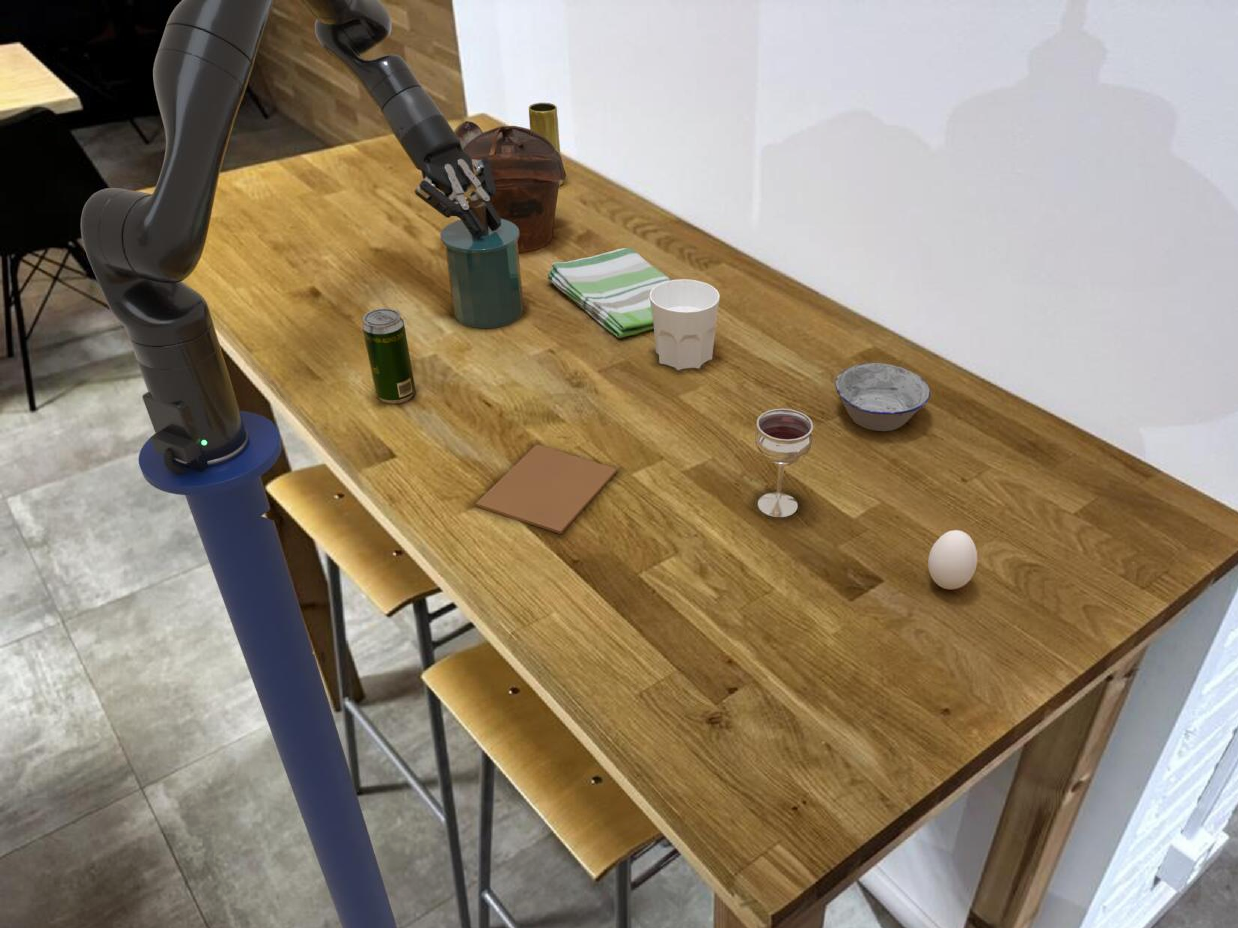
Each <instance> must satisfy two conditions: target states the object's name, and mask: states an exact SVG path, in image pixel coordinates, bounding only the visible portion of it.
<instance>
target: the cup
mask: <svg viewBox="0 0 1238 928" xmlns="http://www.w3.org/2000/svg"><path fill="white" fill-rule="evenodd" d="M670 280H671V281H666V282H663V283H661V284H658V285H657V286H655V287H654V288H653V289H652V290H651V291H650V304H651V311H652V319H653V324H654V329H653V334H654V346H655V347H654V348H655V353H656V354H657V355H658V359H659V360H658V361H659V364H661V365H666V366H669V367H671V368H674V369H675V370H677V371H680V370H683V369H685V370H686V369H701V367H702V365H704V364H705V363H706V362H708V361H712V360H713V354H714V345H715V338H716V337H715V335H716V327H717V320H718V319H717V318H718V312H719V306H720V305H719V304H720V298H721V297H720V296H721V295H720V293H719V290H718V289H717V288H715V286H713V285H711V284H709V283H706V282H704V281H701V280H694V279H683V278H681V279H670Z"/></svg>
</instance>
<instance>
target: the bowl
mask: <svg viewBox="0 0 1238 928" xmlns="http://www.w3.org/2000/svg"><path fill="white" fill-rule="evenodd" d="M834 388H835V389H836V393H837V395H838V396H839V399H840V400H841V402H842V403H843V406H844V408H845V410H846V412H847V414H848V415H849V417H850V420H852V421H853V422H854V423H855V424H856V425H858V426H860V427H861V428H864V429H866V430H867V429H868V430H871V431H875V432H889V431H894V430H897V429H900V428H901V427H903V426H904V425H905V424H907V422H908V421H909V420H911V418H912V417H913V416H914V415H915V414H916V413H917V412H918V411H919V410H920V409H922V408H923V407H924V406H925V405H926V404H927V403H928V401H929V400H930V397H931V389H930V387H929V384H928V382H926V380H925V381H924V379H923V378H922V377H921V376H920V375H918V374H916V373H915V372H913V371H910V370H908V369H906V368H904V367H902V366H897V365H894V364H889V363H881V362H868V363H862V364H857V365H853V366H851V367H849V368H847V369H845V370H843V371H842V372H841V373H839V374H837V375H836V377H835V379H834Z"/></svg>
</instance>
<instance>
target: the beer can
mask: <svg viewBox="0 0 1238 928" xmlns="http://www.w3.org/2000/svg"><path fill="white" fill-rule="evenodd" d="M361 327H362V333H363V337H364V342H365V347H366V352H367V353H366V354H367V357H368V362H369V367H370V371H371V376H372V382H373V388H374V391H375V395H376V397H378V399H379V400H380V401H381V402H383V403H385V404H389V405H396V404H398V405H399V404H402V403H406V402H408V401H409V400H411V399H412V398H413V396H414V395H415V393H416V383H415V379H414V373H413V367H412V361H411V355H410V349H409V344H408V343H409V342H408V338H407V332H406V327H405V321H404V319H403V318H402V314H401V313H400V312H399V311H398V310H396V309H393V308H377V309H373V310H370V311H368V312H366V313H365V314H364V315H363V317H362V325H361Z"/></svg>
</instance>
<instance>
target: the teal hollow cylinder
mask: <svg viewBox="0 0 1238 928" xmlns="http://www.w3.org/2000/svg"><path fill="white" fill-rule="evenodd" d="M444 253H445V259H446V266H447V273H448V280H449V287H450V295H451V301H452V308H453V312H454V317H455V319H456V320H457V321H458V322H459V323H461V324H463V325H465V326H468V327H471V328H476V329H496V328H502V327H505V326H508V325H511V324H513V323H514V322H517V321H518V320H519V319H521V317H522V315H523V313H524V297H523V287H522V286H523V285H522V276H521V275H522V274H521V263H520V255H519V253H520V252H518V242H516V243H514V244H513V245H512V246H510V247H508V248H505V249H503V250H499V251H495V252H489V253H464V252H459V251H455V250H452V249H450V248H448V247H446V246H445V245H444Z"/></svg>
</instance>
